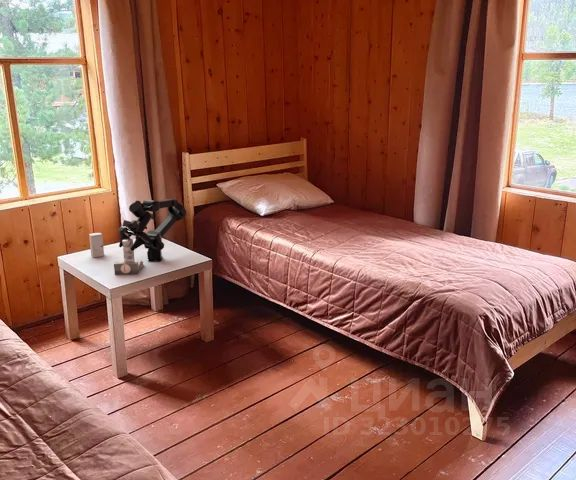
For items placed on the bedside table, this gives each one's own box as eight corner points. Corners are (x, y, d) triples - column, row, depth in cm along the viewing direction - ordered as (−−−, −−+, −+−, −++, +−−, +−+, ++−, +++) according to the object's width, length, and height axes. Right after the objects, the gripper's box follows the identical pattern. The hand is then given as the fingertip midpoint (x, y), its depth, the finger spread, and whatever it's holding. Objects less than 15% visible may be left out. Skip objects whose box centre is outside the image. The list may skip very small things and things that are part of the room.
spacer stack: (132, 261, 279) (130, 238, 275) (136, 263, 275) (134, 240, 272) (122, 262, 276) (120, 239, 273) (126, 265, 272) (124, 241, 269)
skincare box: (93, 257, 293) (90, 235, 289) (90, 255, 297) (88, 233, 293) (104, 255, 296) (102, 234, 293) (102, 253, 300) (100, 232, 296)
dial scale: (143, 265, 282) (142, 254, 280) (137, 274, 269) (136, 263, 267) (121, 265, 281) (120, 255, 280) (114, 275, 268) (113, 264, 267)
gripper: (119, 210, 276) (102, 237, 271) (143, 216, 265) (126, 244, 260) (134, 222, 285) (118, 248, 280) (157, 228, 274) (141, 255, 269)
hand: (125, 248), depth 272 cm, fingers open, 9 cm apart
